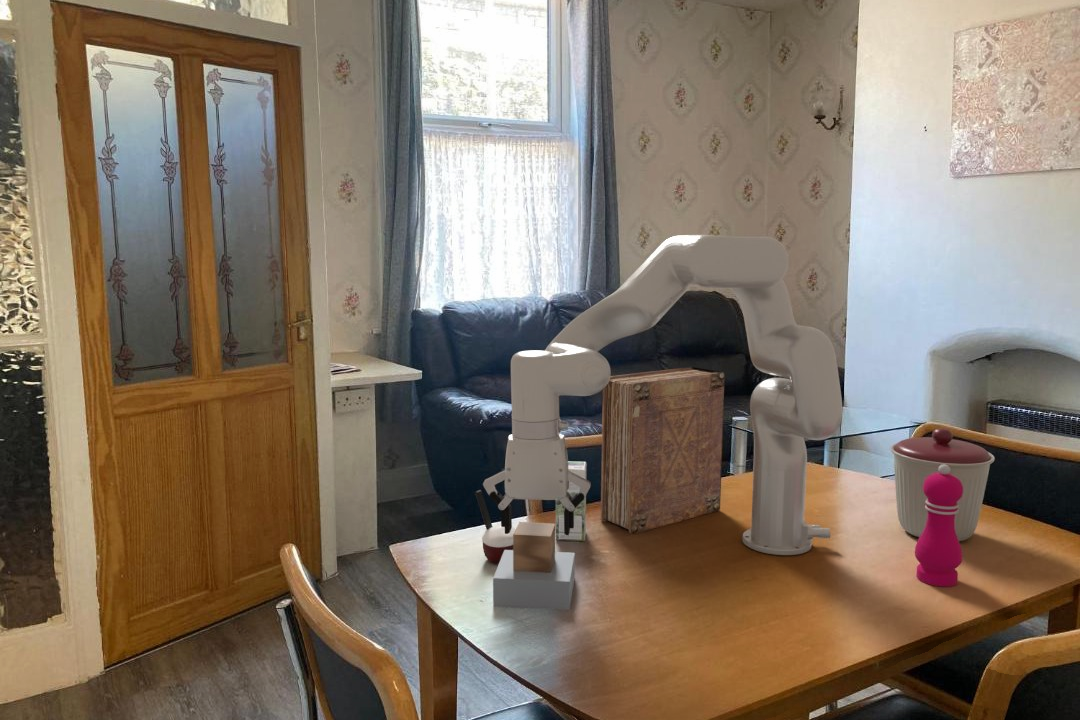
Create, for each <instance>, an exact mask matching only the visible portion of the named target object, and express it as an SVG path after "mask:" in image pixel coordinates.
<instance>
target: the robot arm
mask: <svg viewBox="0 0 1080 720" xmlns="http://www.w3.org/2000/svg"><path fill="white" fill-rule="evenodd" d="M789 258H790V257H789V252H788V251H787V249H786V247H785V246H784V244H782V242H780V241H779V240H778V239H776V238H774V237H771V236H746V235H745V236H736V235H733V236H731V235H717V234H715V235H714V234H681V235H680V234H679V235H674V236H672V237H669V238H667V239H666V240H664V241H663V242H662V243H661V244H659V246H658V247H657V248H656V249H655V250H654V251H653V252H652V253H651V254H650V255H649V256H648V257H647V258H646V260H644V261H643V263H642V264H640V266H639V267H638V268H637V269H636V270H635V271H634V272H633V273H632V274H631V275H630V276H629V277H627V279H626V280H625V282H624V283H623V284H622V285H620V286H619V288H617V290H615V291H614V292H613V293H612V294H610V295H608V296H606V297H605V298H603V299H601V300H599V302H597V303H596V304H594V305H592V306H591V307H589V308H588V309H586V310H585V311H583V312H581V313H580V314H578V315H577V316H576V317H575V318H574V319H572V320H571V321H570V322H568V324H566V325H565V327H564V328H563V329H562V330H561V331H560V332H558V334H557V335H556V336H555V337H554V338H553V339H552V341H550V343H549V344H548V345H547V346H546V348H545V349H544V350H541V349H540V350H537V349H536V350H534V349H533V350H532V349H531V350H522V351H517V352H516V353H514V354H513V355H512V357H511V359H510V389H511V390H510V392H511V393H510V394H511V395H510V396H511V399H510V400H511V433H512V434H509V435H508V437H507V444H506V449H505V450H506V452H505V462H504V463H505V464H504V470H502V471H499V472H497V473H496V474H494V475H492V476H490V477H488V478H485V479H484V481H483V483H482V486H483V488H484V489H485V491H486V493H487V495H488V496H489V499H490V500H491V501H492V502H493V503H494V504H495V505H496V506H497V508H498V509H499V510H500V523H501V527H505V534H508V533H510V530H511V528H512V526H513V524H512V523H513V522H512V520H513V517H512V505H511V504H510V503H511V502H512V501H513V500H535V501H536V500H540V501H543V500H544V501H556V500H560V501H561V503H562V504H563V505H564V506H565V510H564V534H566V535H569V532H570V528H574V509H575V508H576V507H577V506H578V505H579V504H580V503H581V502H582V501H583V500H584V498H585V496H586V497H587V494H588V492H589V490H590V488H591V485H592V482H591V481H590V480H588V479H587V478H586V479H584V478H582V477H580V476H578V475H576V474H574V473H573V472H571V471H569V469H568V461H569V459H568V458H569V457H568V449H567V443H566V438H565V435H564V434H563V433H561V432H563V431H569V421H564V420H562V418H561V417H560V396H576V397H577V396H579V397H587V396H592V395H593V396H594V395H597V394H598V393H600V392H601V391H603V389H604V388H605V387H606V385H607V384H608V382H609V379H610V376H612V375H611V366H610V363H609V361H608V360H607V358H606V357H605V356H604V355H602V354H601V353H600V352H599V351H600V350H602V349H603V348H605V347H606V346H608V345H609V344H611V343H613V342H615V341H617V340H620V339H622V338H626V337H630V336H633V335H636V334H638V333H639V334H640V333H642V332H645V331H647V330H649V329H651V328H652V327H655V326H656V324H657V323H658V322H659V321H661V319H662V318H663V316H665V315H666V314H667V312H668V311H669V310H671V308H672V307H673V306H674V305H675V304H676V303H677V302H678V301H679V299H680V298H682V296H683V295H684V294H685V293H686V292H687V291H688V290H689V289H690V288H691V287H693V288H705V289H707V288H708V289H709V288H710V289H725V290H726V289H730V290H731V291H732V292H733V293H734V294H735V296H736V298H737V299H738V301H739V303H740V306H741V310H742V314H743V320H744V327H745V332H746V337H747V345H748V351H749V356H750V360H751V362H752V365H753V366H754V367H755V369H757V370H758V371H760V372H761V373H764V374H769V375H771V376H777V377H771V378H767V379H764V380H763V381H761V382H759V383H758V384H757V385H756V386H755V387H754V390H753V391H752V393H751V396H750V402H749V409H750V410H749V411H750V416H751V417H750V418H751V423H752V431H753V470H752V471H753V472H752V495H751V496H752V498H751V521H750V522H751V528H748V529H747V530H745V531H744V532H743V533H742V543H743V544H744V545H745V546H746V547H748V548H749V549H752V550H753V551H757V552H760V553H765V554H768V555H774V556H796V555H802V554H805V553H807V552H809V551H810V550H812V542H813V539H814V538H819V539H829V540H830V538H831V529H830V528H829V527H821V525H820V524H808V523H807V522H806V521H805V511H806V510H805V508H806V504H805V503H806V489H807V488H806V486H807V467H808V453H807V452H808V451H807V446H806V443H805V439H807V440H812V441H823V440H827V439H829V438H831V437H832V436H833V435H834V434H836V432H837V431H838V429H839V427H840V425H841V423H842V419H843V399H842V391H841V385H840V384H841V383H840V377H839V376H840V375H839V369H838V368H839V367H838V362H837V355H836V350H835V347H834V345H833V343H832V341H831V340H830V338H829V337H828V335H827V334H826V333H824V332H823V331H822V330H821V329H818V328H816V327H812V326H808V325H807V326H806V325H800V324H797V322H796V320H795V316H794V313H793V307H792V301H791V297H790V293H789V290H788V288H787V285H786V283H785V280H783V279H784V278H785V276H786V275H787V272H788V270H789V265H790V264H789V263H790V259H789ZM503 481H504V496H503V495H502V494H501V493H500V492H499V491H498V490H497V488H496V485H497V484H499V483H501V482H503ZM569 481H570V482H571V483H573V484H575V485H577V486H579V487H580V490H579V492H578V493H577V494H576V495H575V496H574V497H572V496H571V495H570V494H569V493H568V492H567V490H568V488H569Z"/></svg>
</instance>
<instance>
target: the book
mask: <svg viewBox="0 0 1080 720" xmlns="http://www.w3.org/2000/svg"><path fill="white" fill-rule="evenodd" d="M725 375H726V374H725V372H723V371H719V370H717V371H716V370H712V369H707V368H706V369H705V368H701V367H694V366H690V367H680V368H673V369H672V368H671V369H663V370H655V371H646V372H645V371H644V372H636V373H628V374H620V375H619V374H618V375H610V379H609V382H608V384H607V385H606V387H605V388H604V389H602V409H601V410H602V414H601V415H602V416H601V417H602V419H601V423H602V424H601V473H600V474H601V476H600V477H601V480H600V487H601V488H600V489H601V490H600V521H601V522H602V523H605V522H611V523H613V524H615V525H618V526H620V527H622V528H624V529H626V530H628V533H629V534H631V535H634V534H637V533H641V532H644V531H648V530H652V529H657V528H660V527H663V526H668V525H670V524H675V523H678V522H681V521H682V520H683V521H685V520H689V519H693V518H696V517H698V518H699V517H700V516H705V515H708V514H712V513H716V512H719V511H721V499H722V498H721V496H722V495H721V493H722V468H723V467H722V463H723V462H722V460H723V436H724V435H723V433H724V430H723V429H724V403H725V402H724V400H725V399H724V398H725V397H724V395H725Z"/></svg>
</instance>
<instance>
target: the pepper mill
mask: <svg viewBox="0 0 1080 720" xmlns="http://www.w3.org/2000/svg"><path fill="white" fill-rule="evenodd" d="M938 470H939V473H934V474H931V475H930V476H928V477H927V478H926V480H925V481H924V484H923V491H924V494H925V495H926V497H927V498H928V499H927V500H926V501H925V503H926V506H925V509H926V510H927V513H928V517H927V523H926V526H925V529H924V531H923V533H922V534H921V536H920V538H919V537H918V539H917V541H916V544H915V547H914V557H915V559H916V560H917V561H918V562H919V564H917V566H916V577H917V579H918V580H919V581H920V582H922V583H925V584H928V585H931V586H936V587H943V588H944V587H945V588H946V587H954V586H955V585H957V583H958V581H959V580H958V577H959V576H958V575H959V572H958V571H957V568H958V567H959V566H961V564H962V562H963V550H962V547H961V544H960V541H958V538H957V535H956V532H955V524H954V519H955V514H956V513H958V507H959V505H958V503H957V501H958V500H959V499H960V498H961V497H962V495H963V486H962V483H961V481H960V480H959V479H958V478H957V477H955V476H953V475H951V474H949V473H950V468H949V466H948V465H945V464H943V465H940V466H939V468H938Z"/></svg>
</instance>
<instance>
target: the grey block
mask: <svg viewBox="0 0 1080 720" xmlns="http://www.w3.org/2000/svg"><path fill="white" fill-rule="evenodd" d="M575 555H576V553H575V552H569V551H568V552H565V551H563V552H562V551H555V560H554V563H553V566H552V569H551V573H547V572H530V571H513V550H504V553H503V555H502V557H501V560H500V562H499V564H497V565H498V566H497V567H496V570H495V572H494V575H493V578H492V587H493V588H492V595H493V596H492V601H493V602H492V604H493V605H492V606H493V607H499V608H518V609H519V608H522V609H540V610H541V609H545V610H565V611H570V610H571V609H570V608H571V605H572V604H571V603H572V597H573V590H574V584H575V577H576V576H575V575H576V574H575V572H576V571H575V570H576V569H575V568H576V566H575V565H576V564H575V563H576V562H575V560H576V559H575V558H576V556H575Z"/></svg>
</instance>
